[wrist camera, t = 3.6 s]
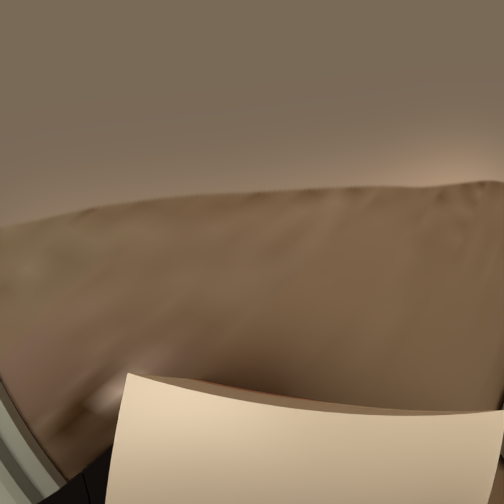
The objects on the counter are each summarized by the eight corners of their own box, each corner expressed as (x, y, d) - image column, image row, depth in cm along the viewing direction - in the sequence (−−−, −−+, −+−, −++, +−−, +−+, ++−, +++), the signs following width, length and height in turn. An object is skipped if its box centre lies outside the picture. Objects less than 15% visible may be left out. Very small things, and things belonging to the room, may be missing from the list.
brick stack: (274, 479, 12) (412, 648, 1) (181, 464, 12) (101, 650, 1) (291, 396, 14) (506, 409, 3) (199, 379, 14) (128, 372, 3)
